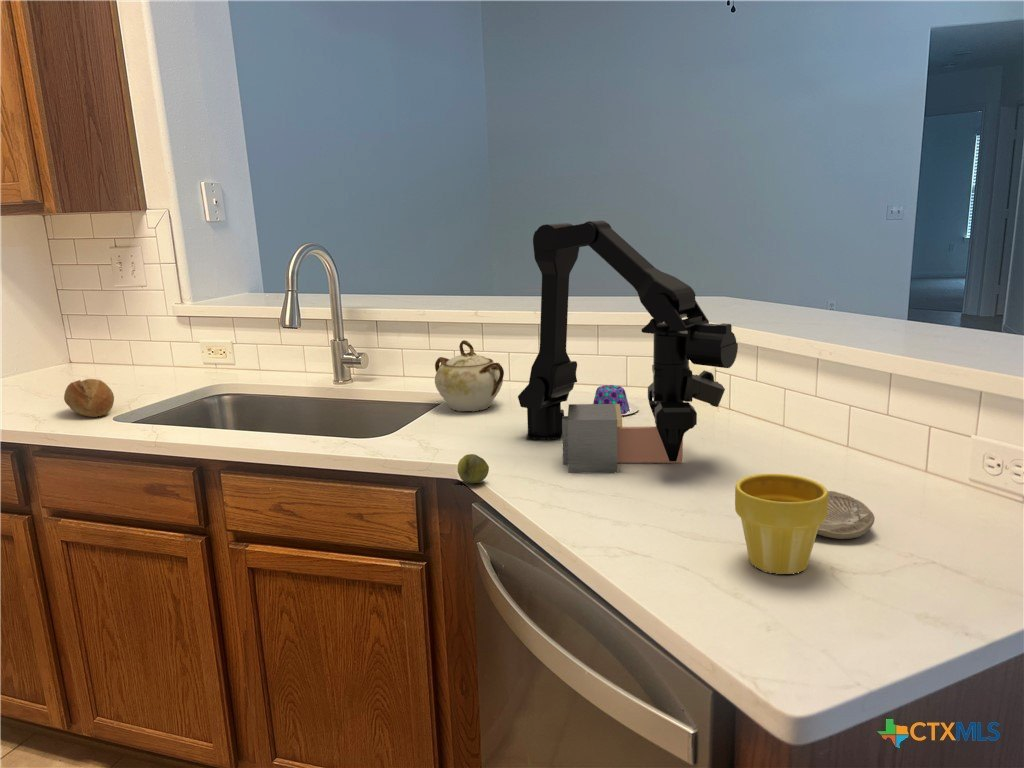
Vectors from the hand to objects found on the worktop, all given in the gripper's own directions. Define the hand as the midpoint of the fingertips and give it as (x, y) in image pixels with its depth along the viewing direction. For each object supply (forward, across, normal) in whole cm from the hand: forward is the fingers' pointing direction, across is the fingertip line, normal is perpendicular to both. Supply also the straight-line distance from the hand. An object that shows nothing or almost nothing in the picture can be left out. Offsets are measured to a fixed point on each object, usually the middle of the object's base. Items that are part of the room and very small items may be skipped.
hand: (669, 452), depth 130 cm
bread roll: (+2, +35, +127) cm, 132 cm away
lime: (+2, -10, +32) cm, 34 cm away
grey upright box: (+2, 0, +13) cm, 13 cm away
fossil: (+2, -26, -18) cm, 32 cm away
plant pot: (+2, -37, -9) cm, 38 cm away
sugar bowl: (+2, +37, +40) cm, 55 cm away
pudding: (+2, +34, +9) cm, 35 cm away
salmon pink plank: (+2, 0, +7) cm, 7 cm away
